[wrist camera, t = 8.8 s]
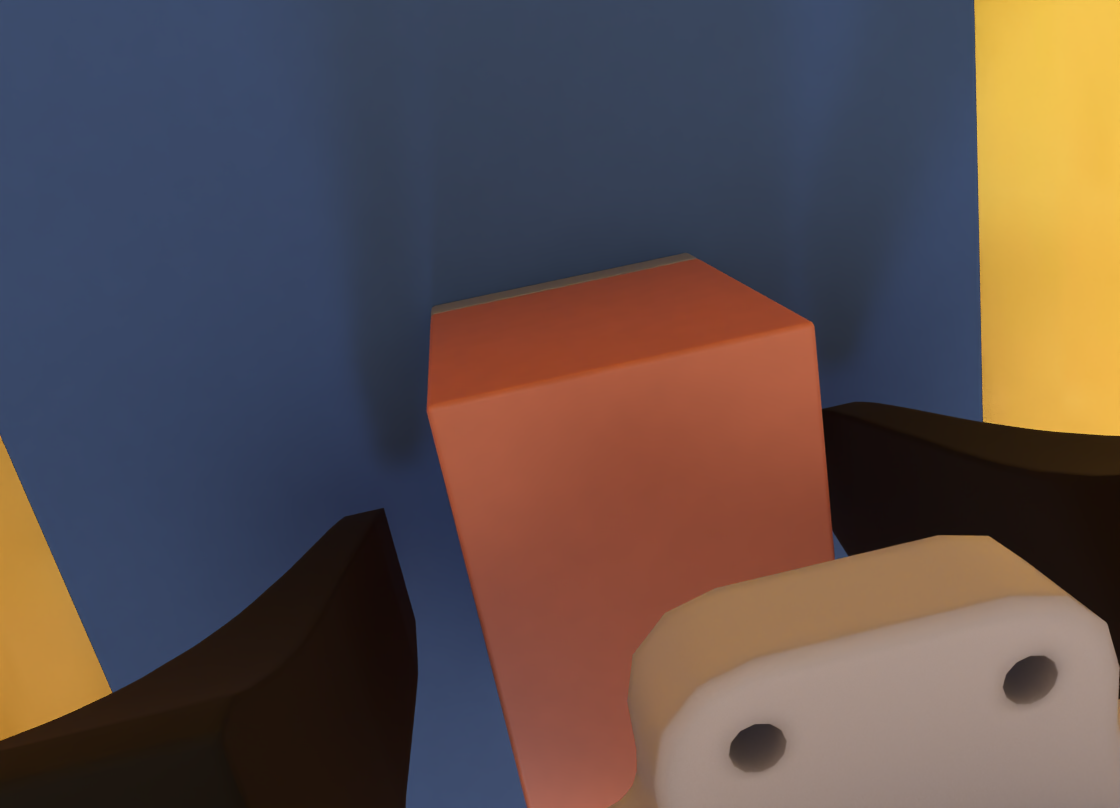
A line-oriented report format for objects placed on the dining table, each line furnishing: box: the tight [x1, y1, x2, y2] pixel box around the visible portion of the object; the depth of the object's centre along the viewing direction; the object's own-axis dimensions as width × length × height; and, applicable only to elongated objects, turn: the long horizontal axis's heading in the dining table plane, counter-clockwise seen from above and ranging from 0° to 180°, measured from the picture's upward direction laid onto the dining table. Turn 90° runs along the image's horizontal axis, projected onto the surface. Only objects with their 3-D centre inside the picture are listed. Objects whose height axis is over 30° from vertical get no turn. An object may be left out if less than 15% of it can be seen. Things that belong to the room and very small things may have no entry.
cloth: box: [0, 0, 983, 808], centre depth 15 cm, size 16×20×1 cm
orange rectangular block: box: [427, 253, 835, 808], centre depth 13 cm, size 4×7×5 cm, turn 10°
